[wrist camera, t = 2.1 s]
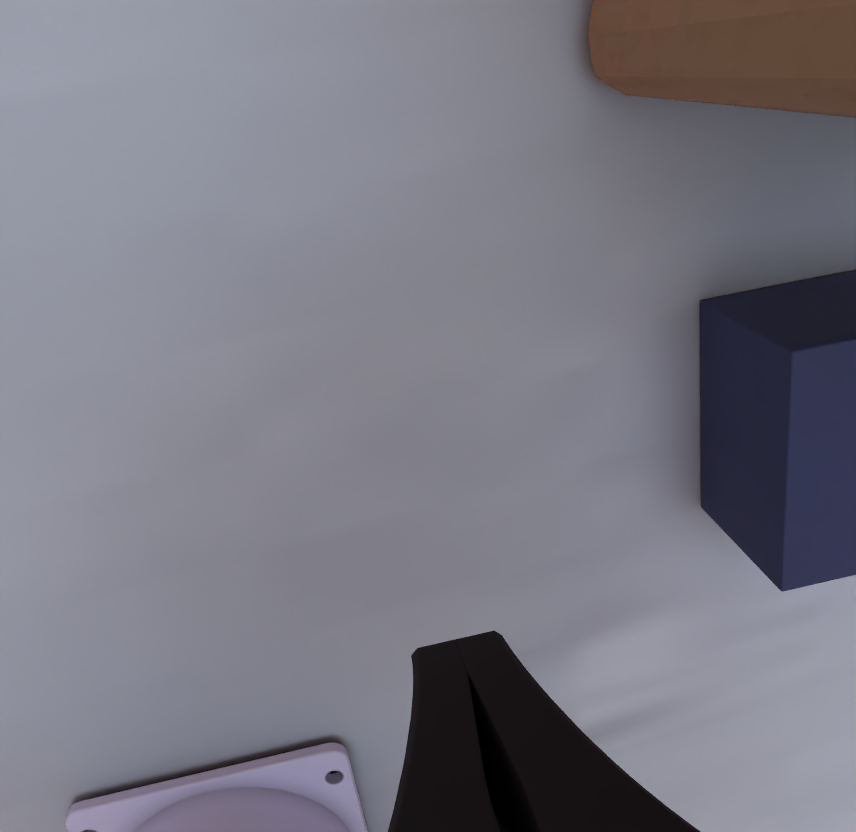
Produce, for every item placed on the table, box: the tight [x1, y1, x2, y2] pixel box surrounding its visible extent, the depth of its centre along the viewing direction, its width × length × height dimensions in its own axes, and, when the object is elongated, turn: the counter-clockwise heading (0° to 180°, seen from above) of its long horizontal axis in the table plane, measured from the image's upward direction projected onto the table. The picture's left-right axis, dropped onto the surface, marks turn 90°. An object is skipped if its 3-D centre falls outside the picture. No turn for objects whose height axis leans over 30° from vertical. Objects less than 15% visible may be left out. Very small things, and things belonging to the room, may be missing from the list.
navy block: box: [700, 270, 856, 591], centre depth 19 cm, size 6×6×4 cm
